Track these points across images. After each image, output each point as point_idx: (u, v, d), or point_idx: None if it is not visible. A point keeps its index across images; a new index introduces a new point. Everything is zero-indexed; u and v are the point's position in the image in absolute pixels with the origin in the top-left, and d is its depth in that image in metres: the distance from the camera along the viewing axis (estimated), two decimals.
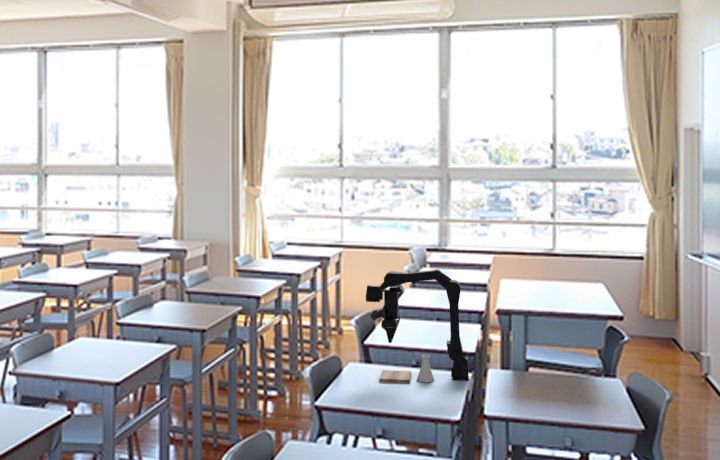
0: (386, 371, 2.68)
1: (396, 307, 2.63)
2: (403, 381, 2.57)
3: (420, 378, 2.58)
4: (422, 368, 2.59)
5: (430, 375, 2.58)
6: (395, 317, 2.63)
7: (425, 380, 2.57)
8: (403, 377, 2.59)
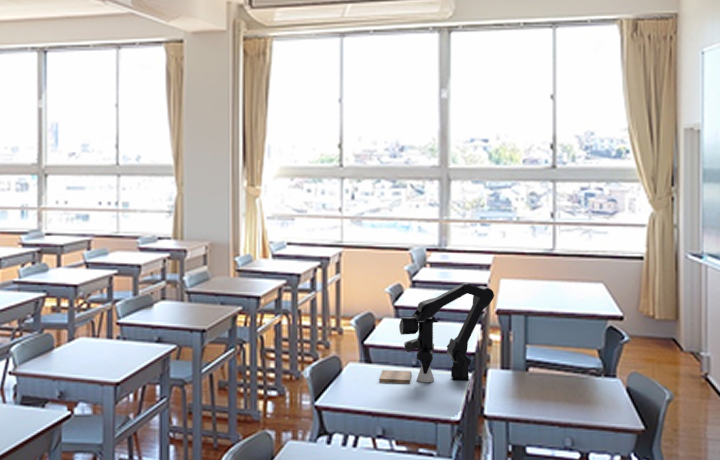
0: (386, 371, 2.68)
1: (431, 338, 2.56)
2: (403, 381, 2.57)
3: (420, 378, 2.58)
4: (422, 368, 2.59)
5: (430, 375, 2.58)
6: (430, 348, 2.57)
7: (425, 380, 2.57)
8: (403, 377, 2.59)
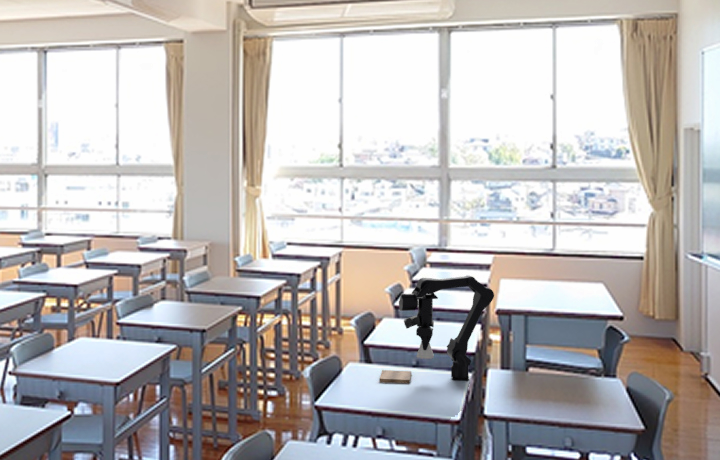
0: (386, 371, 2.68)
1: (431, 315, 2.56)
2: (403, 381, 2.57)
3: (419, 355, 2.58)
4: (422, 345, 2.58)
5: (430, 351, 2.58)
6: (430, 325, 2.56)
7: (425, 356, 2.56)
8: (403, 377, 2.59)
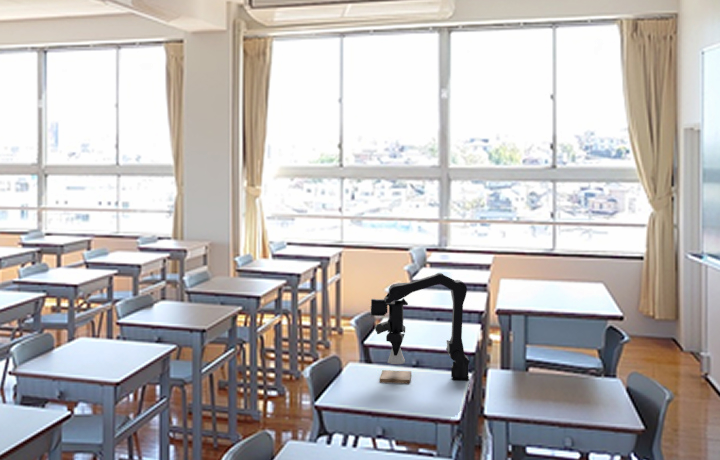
0: (386, 371, 2.68)
1: (401, 320, 2.59)
2: (403, 381, 2.57)
3: (390, 360, 2.60)
4: None
5: (400, 357, 2.60)
6: (400, 331, 2.59)
7: (395, 362, 2.59)
8: (403, 377, 2.59)
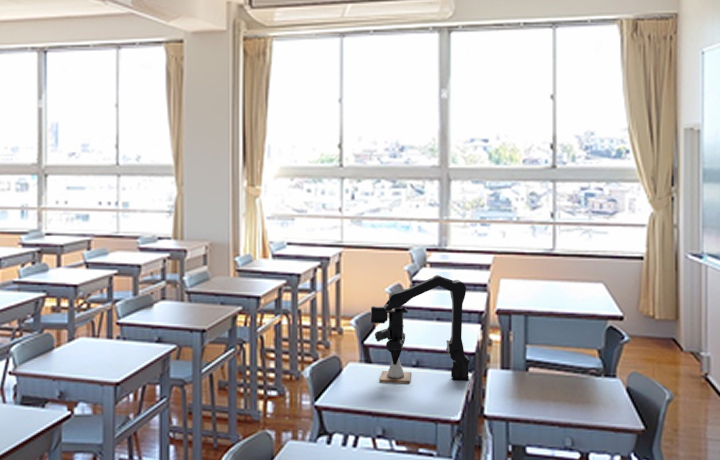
0: (386, 372, 2.68)
1: (401, 328, 2.59)
2: (403, 382, 2.57)
3: (390, 374, 2.61)
4: (392, 363, 2.61)
5: (400, 370, 2.61)
6: (400, 338, 2.59)
7: (395, 375, 2.59)
8: (403, 378, 2.59)
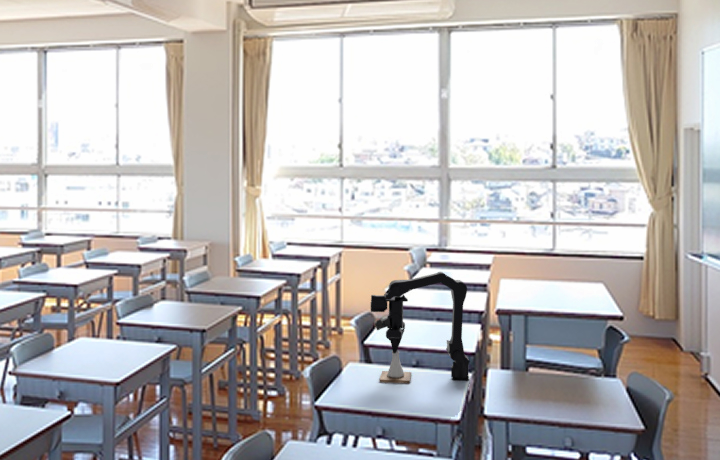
0: (386, 372, 2.68)
1: (401, 317, 2.59)
2: (403, 382, 2.57)
3: (390, 374, 2.61)
4: (392, 363, 2.61)
5: (400, 370, 2.61)
6: (400, 327, 2.59)
7: (395, 375, 2.60)
8: (403, 378, 2.59)
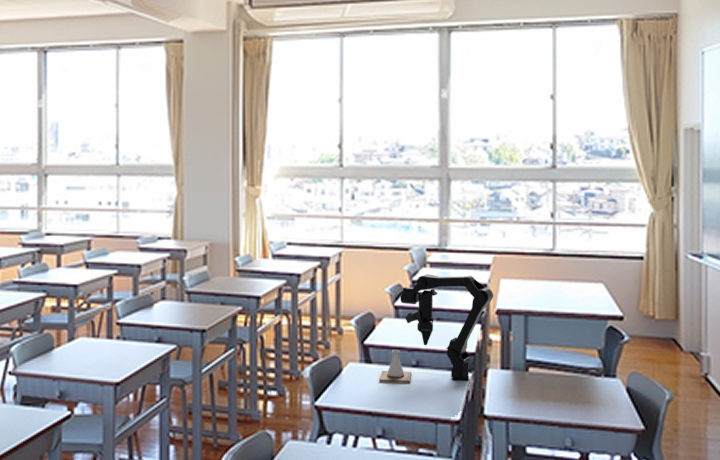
0: (386, 372, 2.68)
1: (431, 310, 2.66)
2: (403, 382, 2.57)
3: (390, 373, 2.61)
4: (392, 363, 2.62)
5: (400, 369, 2.61)
6: (430, 319, 2.67)
7: (396, 374, 2.60)
8: (403, 378, 2.59)
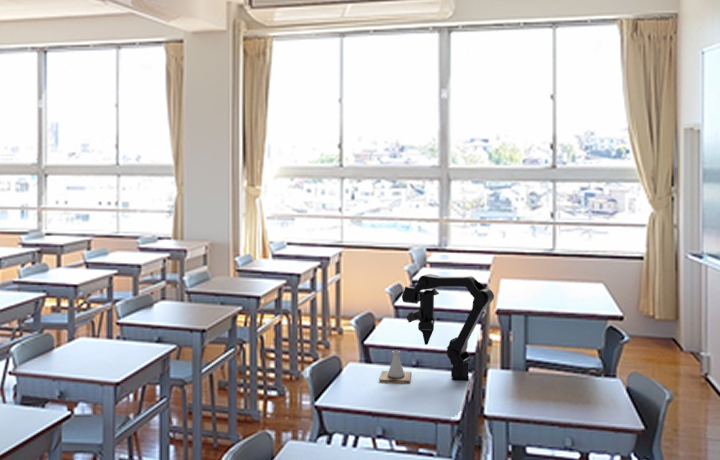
0: (386, 372, 2.68)
1: (432, 309, 2.67)
2: (403, 382, 2.57)
3: (391, 374, 2.60)
4: (393, 363, 2.61)
5: (401, 370, 2.61)
6: (431, 319, 2.67)
7: (396, 375, 2.60)
8: (403, 378, 2.59)
